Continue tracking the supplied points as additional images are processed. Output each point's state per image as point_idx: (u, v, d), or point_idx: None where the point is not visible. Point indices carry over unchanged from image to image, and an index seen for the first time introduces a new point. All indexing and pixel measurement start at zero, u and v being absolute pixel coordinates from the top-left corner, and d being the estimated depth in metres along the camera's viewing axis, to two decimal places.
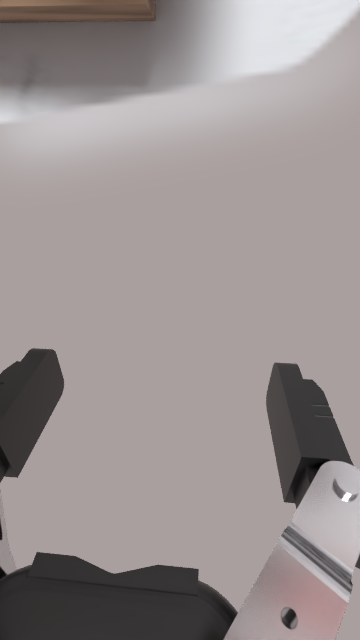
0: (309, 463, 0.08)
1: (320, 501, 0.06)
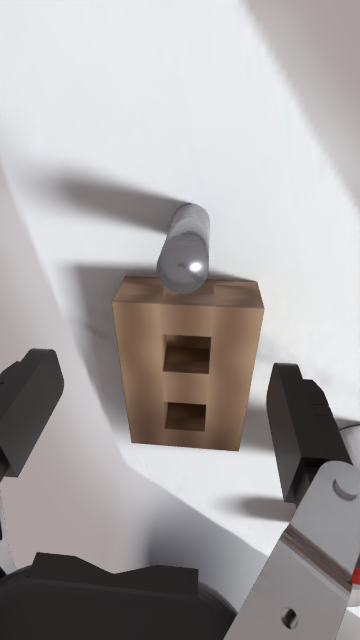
0: (309, 463, 0.08)
1: (320, 501, 0.06)
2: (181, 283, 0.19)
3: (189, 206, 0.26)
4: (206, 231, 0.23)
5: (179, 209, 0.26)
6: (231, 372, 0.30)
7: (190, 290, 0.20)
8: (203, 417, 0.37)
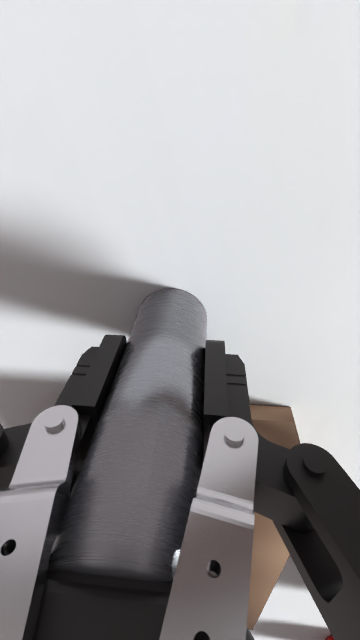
0: (212, 420, 0.09)
1: (207, 447, 0.08)
2: None
3: (166, 298, 0.13)
4: (198, 385, 0.10)
5: (147, 300, 0.13)
6: None
7: None
8: None
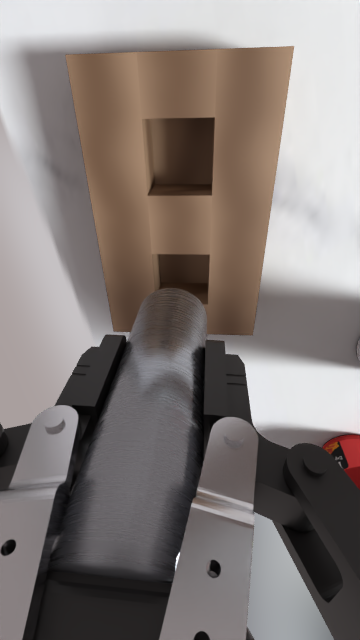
0: (212, 420, 0.09)
1: (207, 447, 0.08)
2: None
3: (166, 297, 0.13)
4: (198, 384, 0.10)
5: (148, 299, 0.13)
6: (243, 189, 0.21)
7: None
8: (205, 293, 0.28)
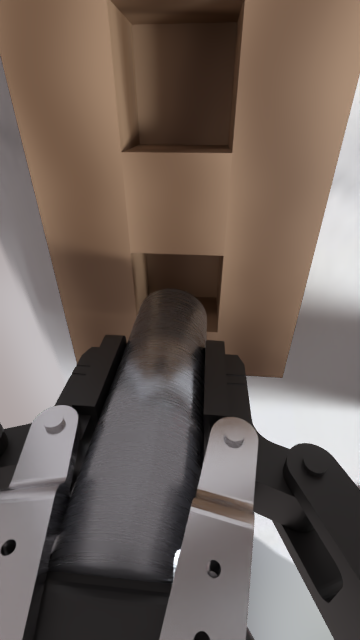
0: (212, 420, 0.09)
1: (207, 447, 0.08)
2: None
3: (166, 298, 0.13)
4: (198, 385, 0.10)
5: (148, 299, 0.13)
6: (288, 143, 0.12)
7: None
8: (214, 313, 0.19)
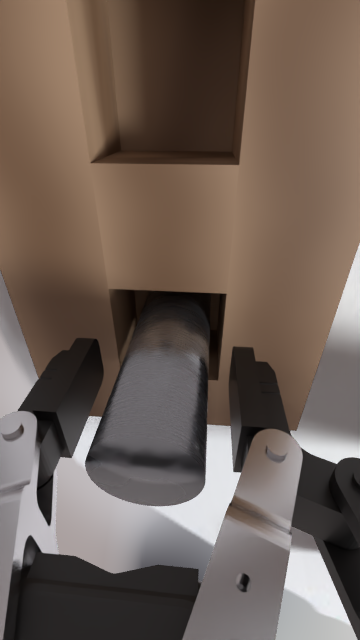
0: (249, 432, 0.08)
1: (250, 461, 0.07)
2: (145, 493, 0.09)
3: None
4: (204, 338, 0.12)
5: None
6: (316, 152, 0.09)
7: (166, 503, 0.09)
8: (214, 352, 0.16)
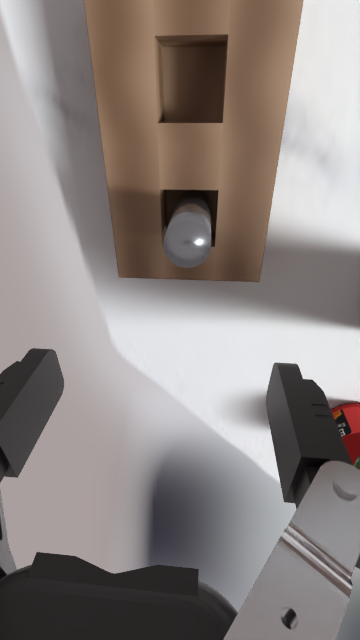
0: (309, 463, 0.08)
1: (320, 501, 0.06)
2: (186, 258, 0.21)
3: (191, 190, 0.27)
4: (208, 212, 0.24)
5: (182, 194, 0.28)
6: (254, 116, 0.21)
7: (194, 265, 0.21)
8: (212, 238, 0.28)
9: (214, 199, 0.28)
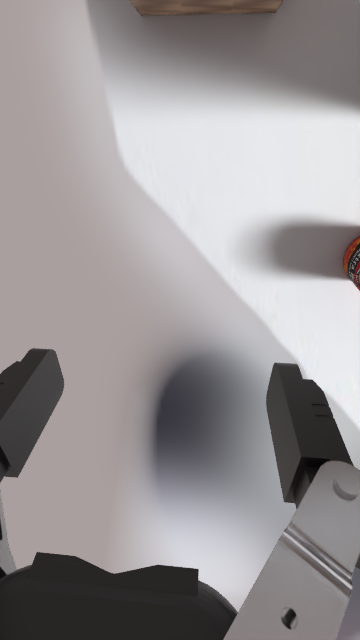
0: (309, 463, 0.08)
1: (320, 501, 0.06)
2: None
3: None
4: None
5: None
6: None
7: None
8: None
9: None
